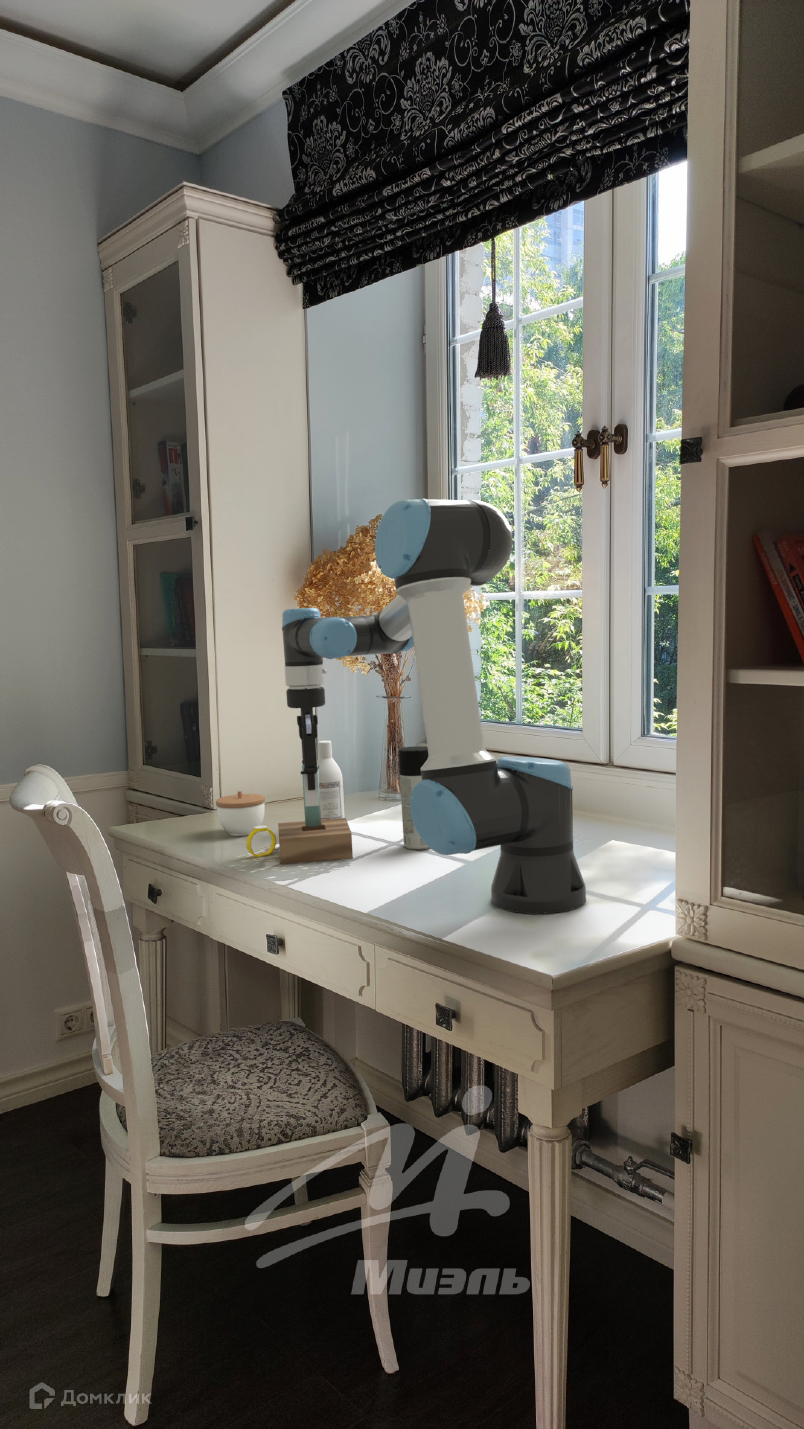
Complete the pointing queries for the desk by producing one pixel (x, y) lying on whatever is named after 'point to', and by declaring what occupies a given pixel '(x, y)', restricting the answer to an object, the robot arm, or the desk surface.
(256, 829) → the watch
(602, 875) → the desk surface
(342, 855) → the socket
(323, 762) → the bath foam
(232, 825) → the lidded jar
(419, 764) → the spray can
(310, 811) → the peg
